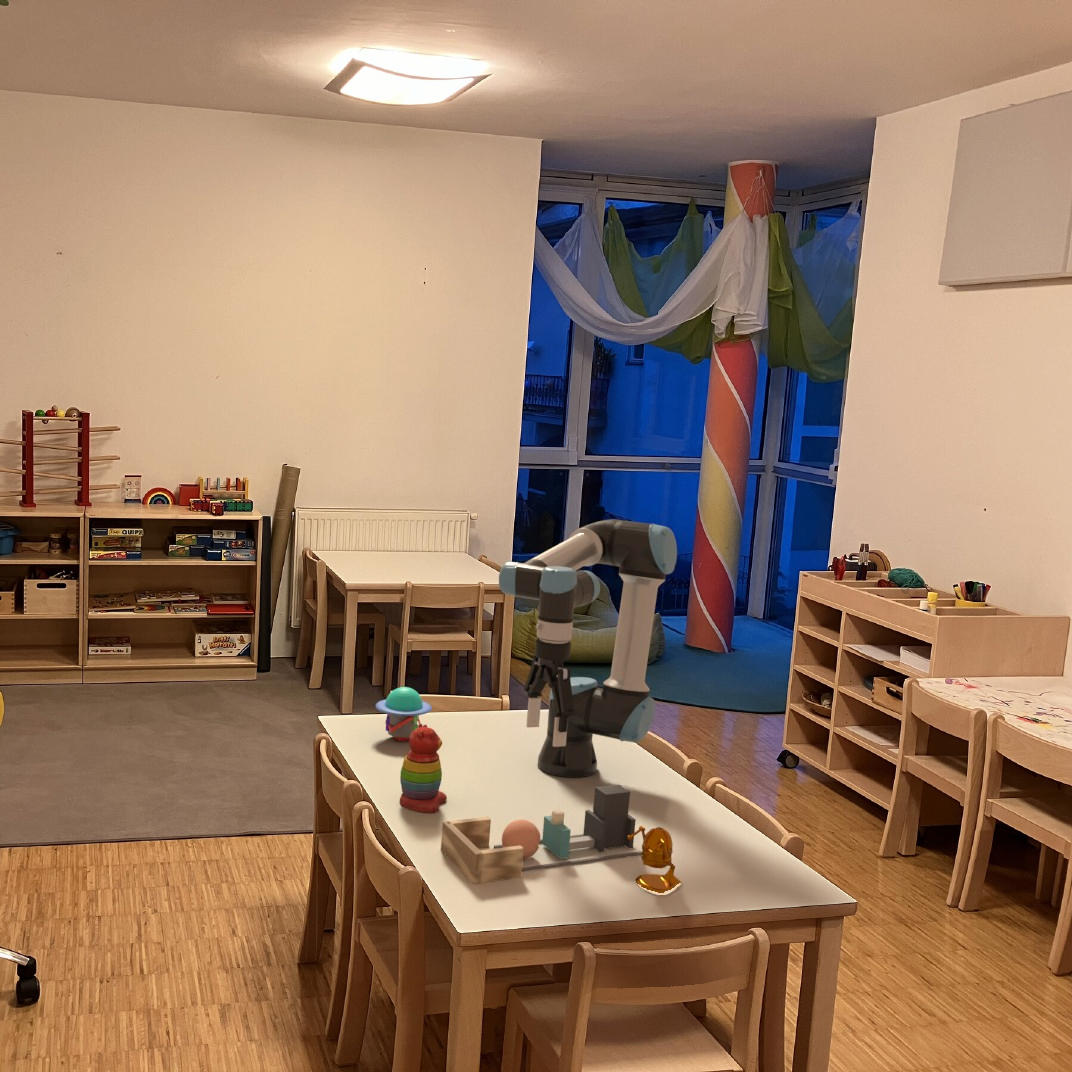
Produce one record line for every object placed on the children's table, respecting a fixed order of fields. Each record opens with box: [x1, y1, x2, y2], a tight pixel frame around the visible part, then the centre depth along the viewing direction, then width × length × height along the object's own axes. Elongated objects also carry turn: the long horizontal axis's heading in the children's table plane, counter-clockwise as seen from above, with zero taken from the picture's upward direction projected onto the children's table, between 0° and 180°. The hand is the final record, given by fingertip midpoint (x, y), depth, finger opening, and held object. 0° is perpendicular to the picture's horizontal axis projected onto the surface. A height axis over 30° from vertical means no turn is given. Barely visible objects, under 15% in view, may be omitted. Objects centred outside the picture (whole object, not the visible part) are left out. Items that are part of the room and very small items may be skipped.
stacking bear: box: [399, 724, 448, 814], centre depth 261 cm, size 11×10×18 cm
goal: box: [440, 816, 524, 885], centre depth 232 cm, size 10×17×6 cm, turn 27°
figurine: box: [627, 825, 682, 893], centre depth 227 cm, size 8×11×12 cm
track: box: [493, 833, 642, 873], centre depth 242 cm, size 29×12×1 cm, turn 117°
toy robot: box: [375, 686, 433, 742], centre depth 307 cm, size 15×15×14 cm
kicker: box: [541, 784, 637, 859], centre depth 243 cm, size 20×8×12 cm, turn 117°
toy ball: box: [501, 819, 541, 860], centre depth 236 cm, size 8×8×8 cm
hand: (545, 736), depth 247 cm, fingers open, 13 cm apart
